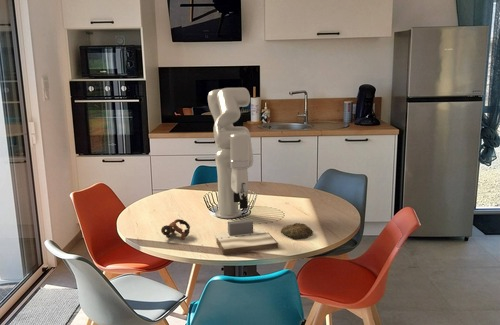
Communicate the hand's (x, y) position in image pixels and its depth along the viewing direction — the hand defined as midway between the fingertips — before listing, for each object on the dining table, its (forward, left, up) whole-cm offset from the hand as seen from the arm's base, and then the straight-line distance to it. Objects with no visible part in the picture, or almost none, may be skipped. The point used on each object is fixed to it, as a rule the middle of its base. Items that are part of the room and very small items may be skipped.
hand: (240, 205), depth 193 cm
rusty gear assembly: (-9, -26, -14) cm, 31 cm away
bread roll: (+3, +24, -15) cm, 28 cm away
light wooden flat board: (+9, 0, -14) cm, 17 cm away
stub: (-1, 0, -14) cm, 14 cm away
